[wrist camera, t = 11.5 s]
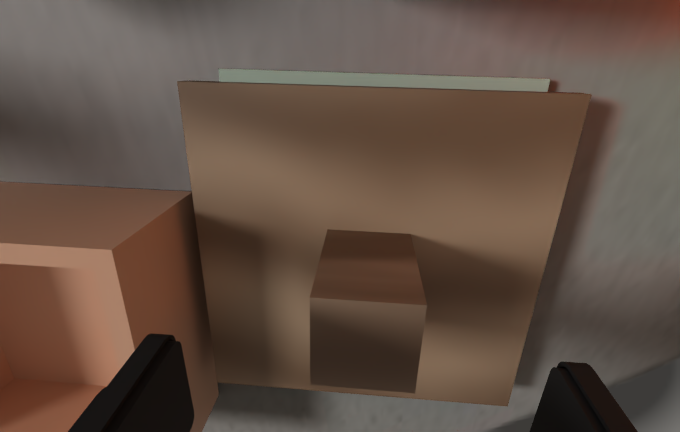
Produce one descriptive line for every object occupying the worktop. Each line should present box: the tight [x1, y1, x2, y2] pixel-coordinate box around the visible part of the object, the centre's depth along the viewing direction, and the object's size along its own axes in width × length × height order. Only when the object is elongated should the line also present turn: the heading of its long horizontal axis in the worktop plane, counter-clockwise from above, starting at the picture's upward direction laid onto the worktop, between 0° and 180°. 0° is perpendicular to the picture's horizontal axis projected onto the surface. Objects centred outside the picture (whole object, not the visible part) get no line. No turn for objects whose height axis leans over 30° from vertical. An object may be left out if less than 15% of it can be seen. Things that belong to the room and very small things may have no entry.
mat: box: [219, 69, 550, 92], centre depth 18 cm, size 16×13×1 cm
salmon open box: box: [0, 182, 219, 432], centre depth 18 cm, size 13×13×6 cm
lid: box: [177, 81, 591, 406], centre depth 15 cm, size 15×15×6 cm
